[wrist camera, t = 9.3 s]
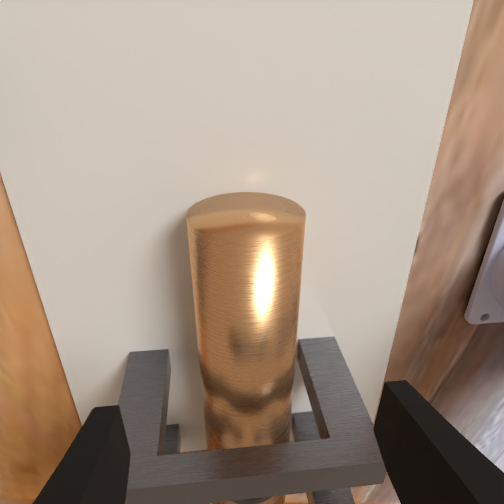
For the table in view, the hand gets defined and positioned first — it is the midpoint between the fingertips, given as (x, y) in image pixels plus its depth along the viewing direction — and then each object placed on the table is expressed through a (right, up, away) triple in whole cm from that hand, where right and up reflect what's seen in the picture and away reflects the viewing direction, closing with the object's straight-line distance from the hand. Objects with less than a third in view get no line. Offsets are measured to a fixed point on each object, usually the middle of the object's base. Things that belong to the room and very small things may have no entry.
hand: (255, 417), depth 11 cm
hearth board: (-1, +4, +8) cm, 9 cm away
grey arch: (-1, -1, +11) cm, 11 cm away
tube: (-1, -1, +10) cm, 10 cm away
